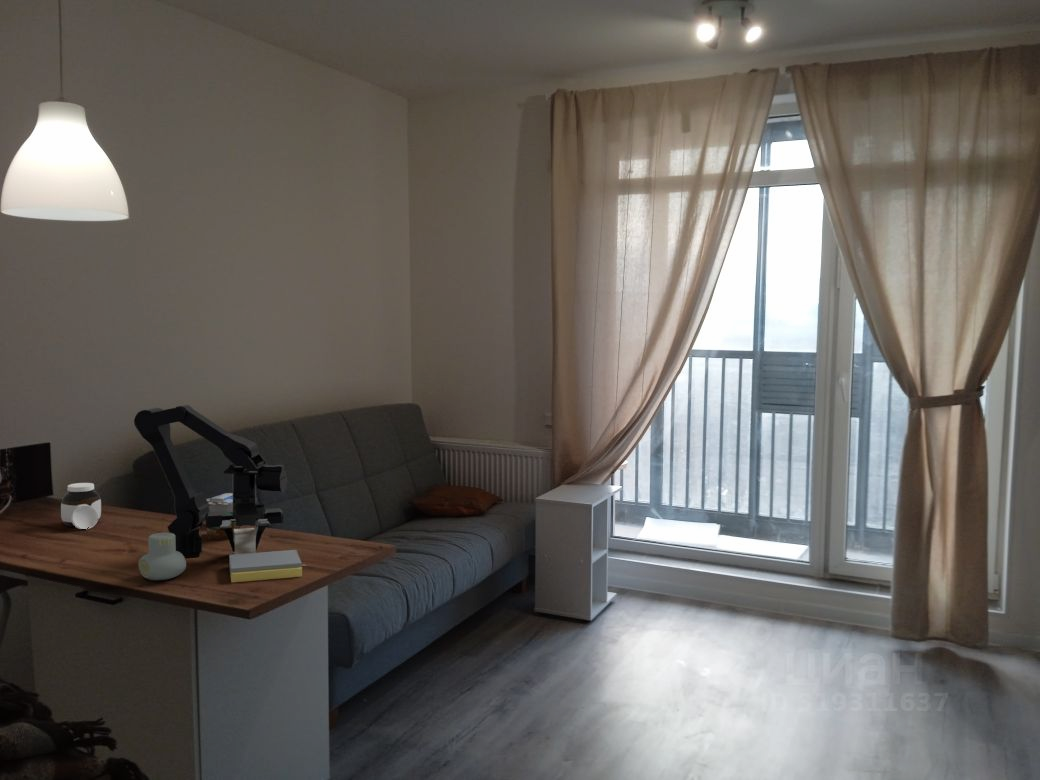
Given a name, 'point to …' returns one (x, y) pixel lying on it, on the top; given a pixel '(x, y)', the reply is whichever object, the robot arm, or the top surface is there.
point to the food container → (226, 510)
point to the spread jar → (81, 506)
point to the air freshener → (162, 558)
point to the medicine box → (223, 498)
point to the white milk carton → (244, 541)
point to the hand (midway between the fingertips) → (244, 550)
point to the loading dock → (264, 565)
